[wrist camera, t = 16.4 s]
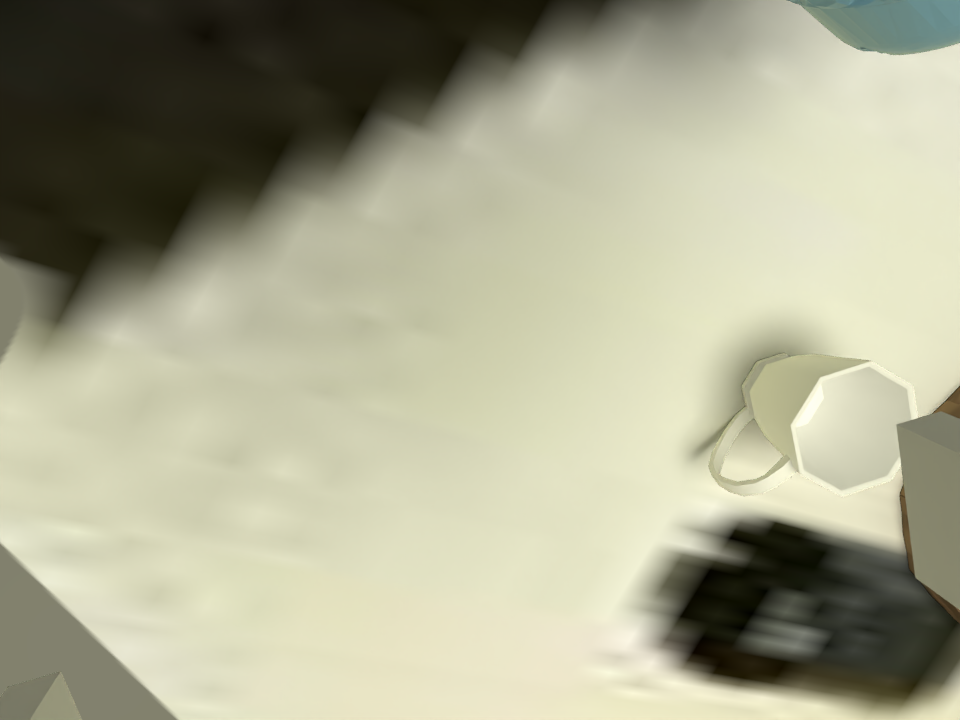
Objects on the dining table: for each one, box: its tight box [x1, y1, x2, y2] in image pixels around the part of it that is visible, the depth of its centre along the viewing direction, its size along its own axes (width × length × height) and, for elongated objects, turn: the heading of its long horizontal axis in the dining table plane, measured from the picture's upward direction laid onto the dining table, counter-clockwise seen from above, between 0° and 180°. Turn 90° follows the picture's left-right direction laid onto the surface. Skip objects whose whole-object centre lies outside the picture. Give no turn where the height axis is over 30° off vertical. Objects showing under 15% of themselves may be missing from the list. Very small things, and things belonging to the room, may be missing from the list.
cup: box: [708, 353, 918, 497], centre depth 43 cm, size 7×10×8 cm
